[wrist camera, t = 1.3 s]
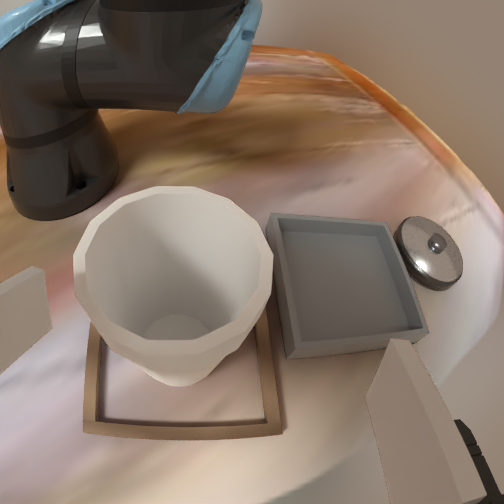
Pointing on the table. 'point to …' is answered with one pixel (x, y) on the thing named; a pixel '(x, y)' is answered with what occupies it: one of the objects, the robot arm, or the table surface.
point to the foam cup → (173, 279)
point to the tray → (340, 286)
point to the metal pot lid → (429, 253)
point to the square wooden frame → (184, 433)
